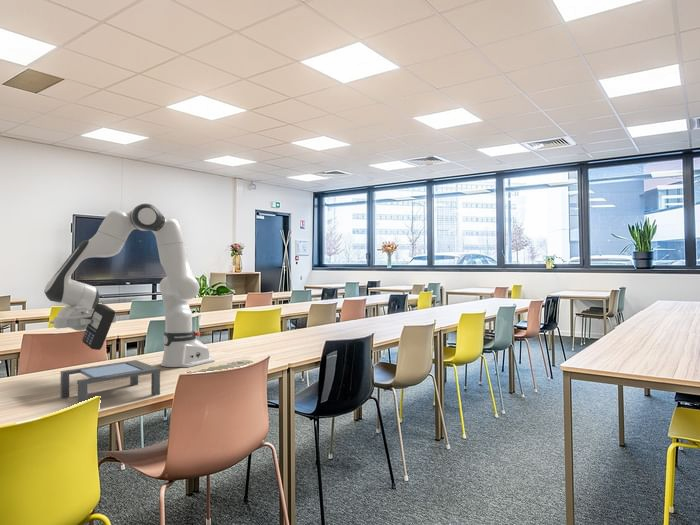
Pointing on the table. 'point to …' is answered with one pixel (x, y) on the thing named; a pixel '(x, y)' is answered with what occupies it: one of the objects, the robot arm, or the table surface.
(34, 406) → the table surface
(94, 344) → the card reader
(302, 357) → the table surface
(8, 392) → the table surface
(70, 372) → the stand
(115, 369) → the trapdoor
